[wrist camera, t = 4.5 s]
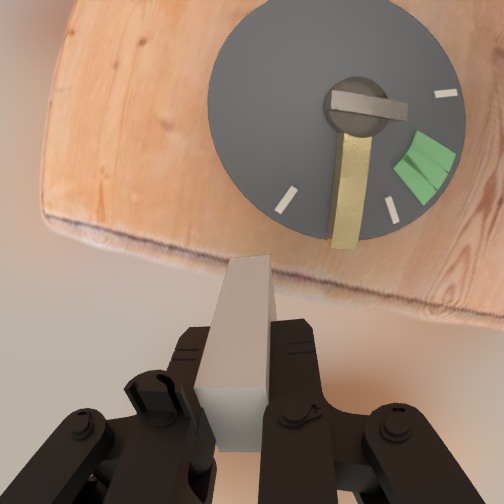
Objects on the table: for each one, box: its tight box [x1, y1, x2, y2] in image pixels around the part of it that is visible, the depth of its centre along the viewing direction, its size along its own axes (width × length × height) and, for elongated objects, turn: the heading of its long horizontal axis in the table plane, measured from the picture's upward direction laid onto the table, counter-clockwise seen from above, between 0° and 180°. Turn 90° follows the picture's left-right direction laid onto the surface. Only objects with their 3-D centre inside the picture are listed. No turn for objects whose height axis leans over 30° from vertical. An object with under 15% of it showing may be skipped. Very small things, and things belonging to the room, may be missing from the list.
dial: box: [208, 0, 466, 240], centre depth 22 cm, size 22×22×2 cm
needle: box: [323, 76, 408, 250], centre depth 21 cm, size 13×5×5 cm, turn 177°
